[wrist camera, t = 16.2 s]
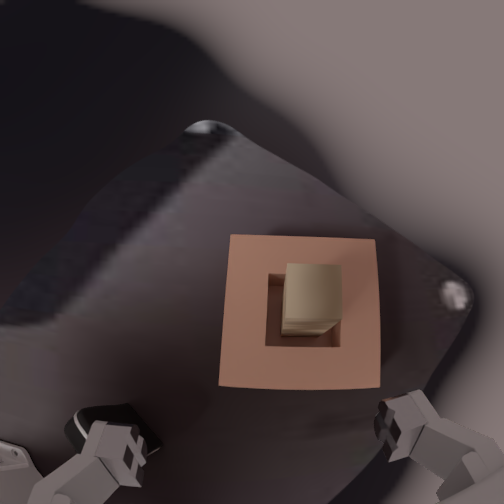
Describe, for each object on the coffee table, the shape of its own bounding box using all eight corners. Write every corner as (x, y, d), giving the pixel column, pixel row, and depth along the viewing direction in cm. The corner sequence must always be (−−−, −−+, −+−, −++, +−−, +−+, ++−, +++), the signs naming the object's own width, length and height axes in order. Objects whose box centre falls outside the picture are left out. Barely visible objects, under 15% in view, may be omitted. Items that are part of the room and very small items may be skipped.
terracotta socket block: (227, 383, 32) (218, 385, 27) (236, 255, 38) (230, 234, 32) (362, 385, 31) (379, 387, 25) (360, 259, 37) (374, 239, 31)
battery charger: (107, 417, 31) (51, 427, 20) (127, 400, 32) (73, 406, 21) (145, 461, 29) (98, 489, 18) (166, 445, 30) (123, 470, 19)
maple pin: (280, 336, 32) (285, 317, 21) (281, 300, 34) (287, 263, 23) (317, 337, 32) (342, 318, 21) (318, 301, 34) (341, 264, 22)
